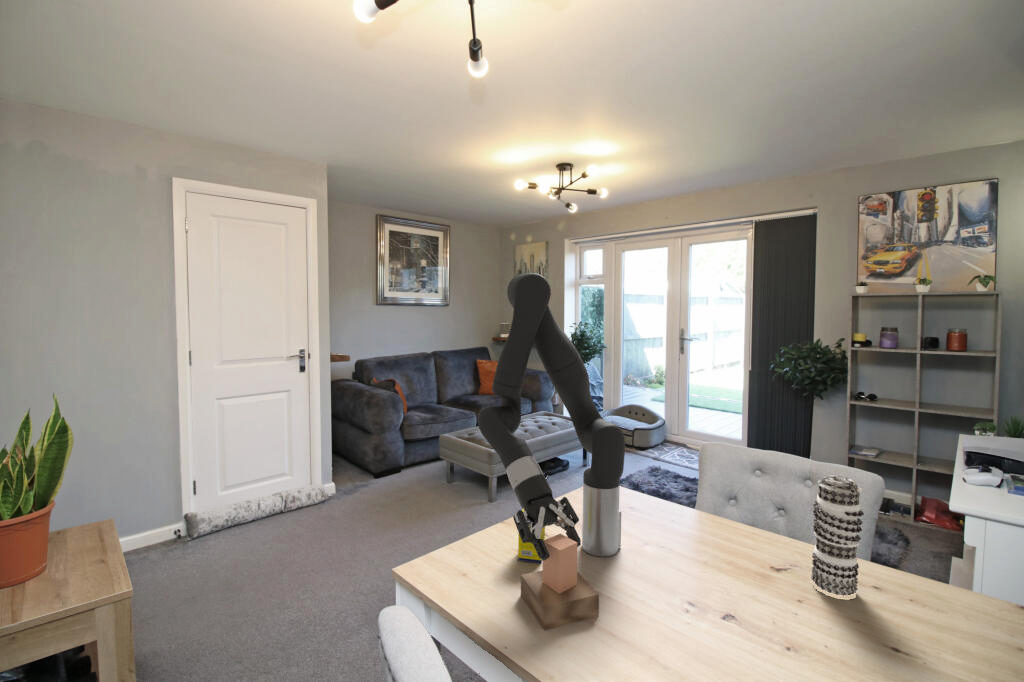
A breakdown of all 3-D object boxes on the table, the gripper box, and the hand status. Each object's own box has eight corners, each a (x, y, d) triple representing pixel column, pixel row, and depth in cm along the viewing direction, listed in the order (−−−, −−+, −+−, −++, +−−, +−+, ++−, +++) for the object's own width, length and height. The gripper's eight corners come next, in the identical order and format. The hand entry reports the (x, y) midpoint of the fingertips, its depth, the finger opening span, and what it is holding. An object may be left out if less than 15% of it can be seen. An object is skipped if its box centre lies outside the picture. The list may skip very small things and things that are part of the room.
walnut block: (570, 586, 107) (570, 564, 107) (598, 618, 96) (599, 594, 96) (520, 597, 103) (521, 574, 103) (544, 632, 92) (544, 606, 92)
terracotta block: (559, 574, 103) (560, 533, 102) (576, 584, 99) (577, 542, 98) (542, 582, 100) (542, 540, 99) (559, 593, 96) (560, 550, 95)
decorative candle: (853, 583, 109) (859, 475, 107) (863, 606, 100) (870, 489, 99) (806, 574, 113) (811, 469, 111) (812, 595, 104) (818, 482, 103)
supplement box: (541, 563, 116) (542, 519, 115) (517, 561, 117) (518, 517, 117) (545, 551, 122) (545, 509, 121) (522, 549, 123) (522, 507, 122)
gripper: (509, 480, 100) (544, 555, 92) (560, 467, 109) (596, 535, 100) (495, 496, 105) (527, 570, 96) (545, 483, 113) (578, 550, 105)
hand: (562, 552), depth 98 cm, fingers open, 8 cm apart
